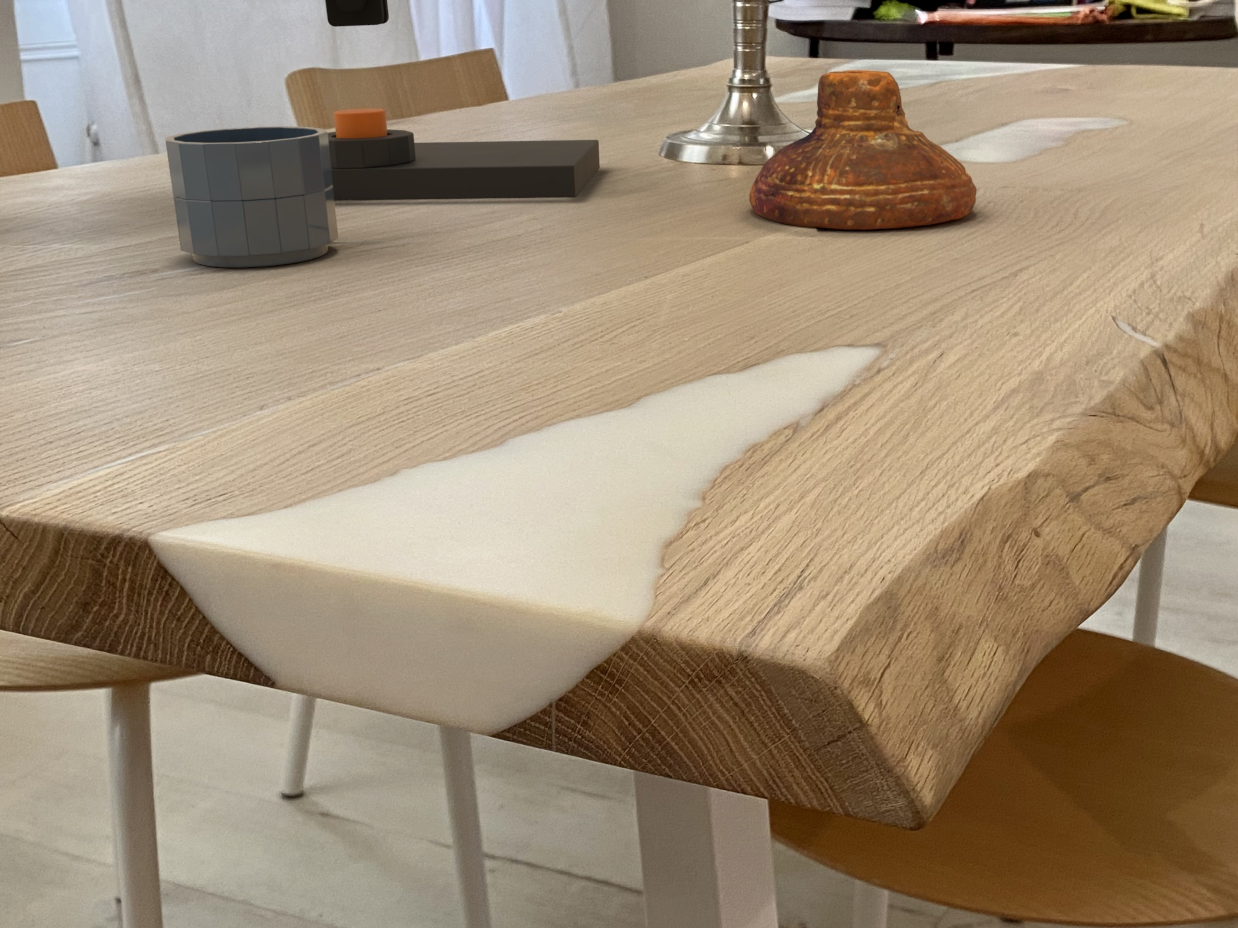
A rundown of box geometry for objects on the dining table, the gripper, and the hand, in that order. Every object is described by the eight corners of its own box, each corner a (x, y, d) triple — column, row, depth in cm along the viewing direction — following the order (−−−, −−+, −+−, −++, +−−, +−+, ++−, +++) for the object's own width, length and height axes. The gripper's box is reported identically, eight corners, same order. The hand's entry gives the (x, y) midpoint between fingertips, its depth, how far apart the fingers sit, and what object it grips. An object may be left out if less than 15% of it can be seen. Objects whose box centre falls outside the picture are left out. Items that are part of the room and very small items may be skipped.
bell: (795, 192, 84) (796, 61, 81) (1001, 202, 79) (1009, 63, 76) (711, 224, 74) (709, 77, 71) (940, 238, 69) (946, 79, 66)
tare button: (330, 144, 85) (327, 113, 84) (344, 138, 88) (341, 108, 87) (380, 143, 85) (378, 112, 84) (393, 137, 87) (390, 107, 87)
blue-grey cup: (158, 270, 66) (139, 145, 64) (214, 242, 72) (199, 127, 71) (313, 269, 65) (299, 142, 63) (355, 240, 72) (344, 125, 70)
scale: (303, 202, 85) (296, 141, 83) (362, 172, 97) (356, 118, 95) (575, 198, 83) (572, 136, 82) (599, 169, 96) (597, 114, 94)
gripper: (293, -308, 85) (332, 21, 91) (199, -359, 71) (253, 34, 77) (419, -315, 84) (449, 17, 91) (350, -368, 70) (391, 29, 77)
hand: (359, 24), depth 84 cm, fingers closed
